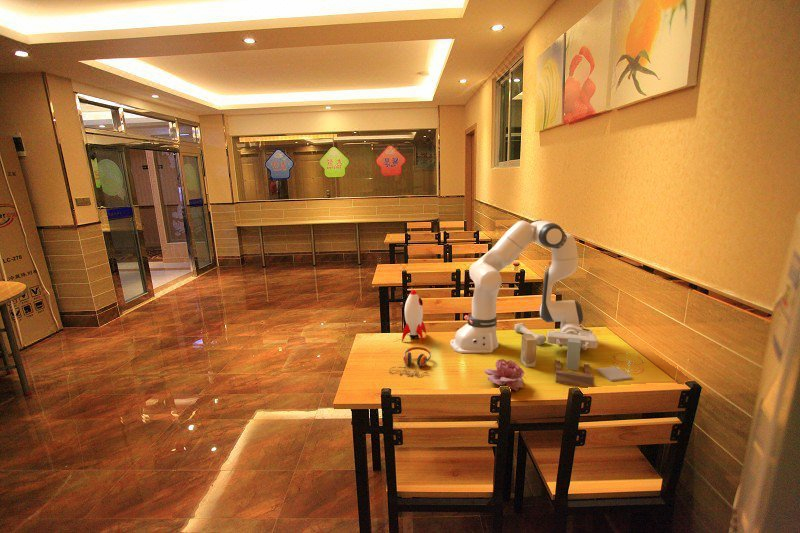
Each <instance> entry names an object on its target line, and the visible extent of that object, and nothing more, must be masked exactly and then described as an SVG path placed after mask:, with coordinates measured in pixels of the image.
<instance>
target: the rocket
mask: <svg viewBox="0 0 800 533" xmlns="http://www.w3.org/2000/svg"><path fill="white" fill-rule="evenodd" d="M423 304H424V302H423V300H422V298H421V297H420V296H419V294H418V293H417V291H416V290H415V289H412V290H411V291H410V292H409V295H408V297H407V299H406V301H405V304H404V320H405V323H406V324H405V326H404V328H403V332H402V336H401V342H403V341H404V340H405V338H406V336H407V335H408V334H409V338H411V339H418V338H419V337H420V339H421V342H422V343H424V336H423V333H424V334H425V335H426V334H427V329H426V325H425V323H424V321H423V319H424V318H423V316H424V308H423Z"/></svg>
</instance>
